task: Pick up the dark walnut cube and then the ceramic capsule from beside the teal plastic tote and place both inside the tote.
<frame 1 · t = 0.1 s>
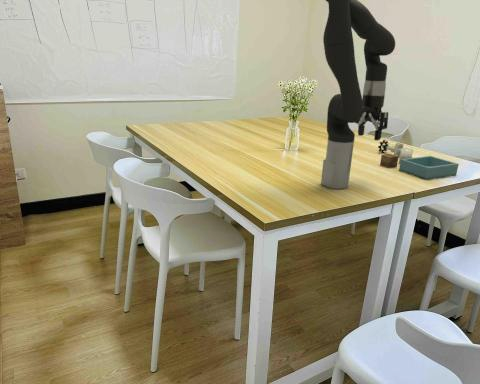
hand: (368, 137, 145), 17 cm above the table, tool pointing down, fingers open, 8 cm apart
valve: (390, 155, 193), on the table
tote: (427, 172, 164), on the table
ceramic capsule: (404, 164, 177), on the table
walnut cube: (388, 166, 173), on the table
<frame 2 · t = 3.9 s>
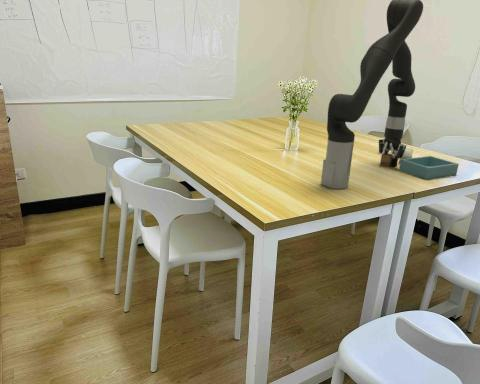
hand: (388, 164, 173), 1 cm above the table, tool pointing down, fingers closed on walnut cube, 5 cm apart
walnut cube: (388, 166, 173), on the table, touching gripper
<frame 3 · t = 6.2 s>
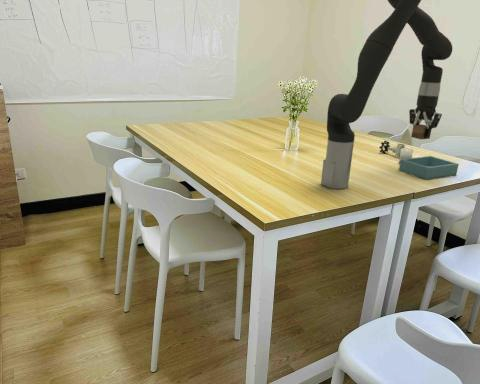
hand: (420, 136, 160), 16 cm above the table, tool pointing down, fingers closed on walnut cube, 5 cm apart
walnut cube: (420, 137, 160), point 15 cm above the table, touching gripper
when the fingers open (4 cm above the table, at t = 8.7 s): walnut cube drops 2 cm, resting on tote.
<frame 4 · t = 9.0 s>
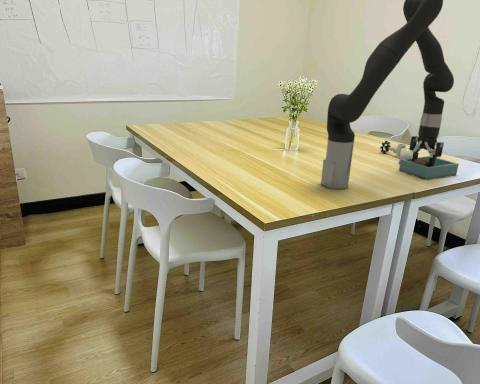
hand: (422, 163, 161), 4 cm above the table, tool pointing down, fingers open, 7 cm apart
walnut cube: (421, 172, 162), point 1 cm above the table, touching tote
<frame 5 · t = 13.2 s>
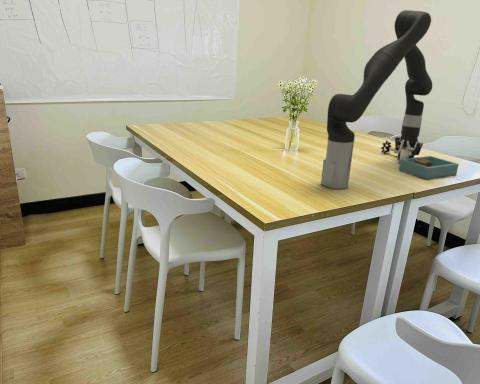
hand: (404, 161, 177), 1 cm above the table, tool pointing down, fingers closed on ceramic capsule, 5 cm apart
ceramic capsule: (404, 164, 177), on the table, touching gripper
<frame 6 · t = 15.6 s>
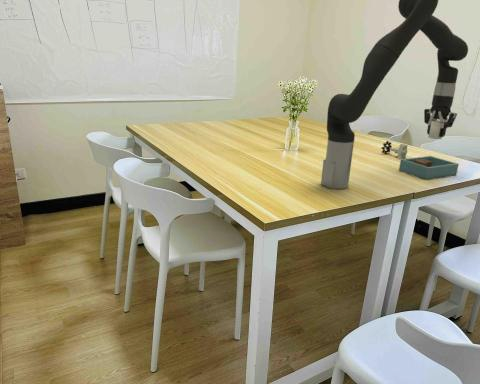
hand: (435, 135, 163), 15 cm above the table, tool pointing down, fingers closed on ceramic capsule, 5 cm apart
ceramic capsule: (434, 137, 163), point 14 cm above the table, touching gripper
when the fingers open (4 cm above the table, at t = 18.3 s): ceramic capsule drops 2 cm, resting on tote.
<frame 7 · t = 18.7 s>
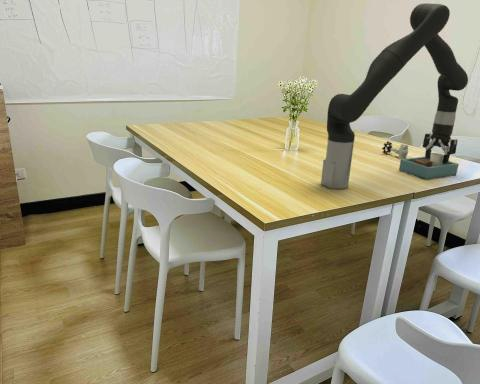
hand: (436, 160, 164), 5 cm above the table, tool pointing down, fingers open, 8 cm apart
ceramic capsule: (434, 170, 166), point 1 cm above the table, touching tote
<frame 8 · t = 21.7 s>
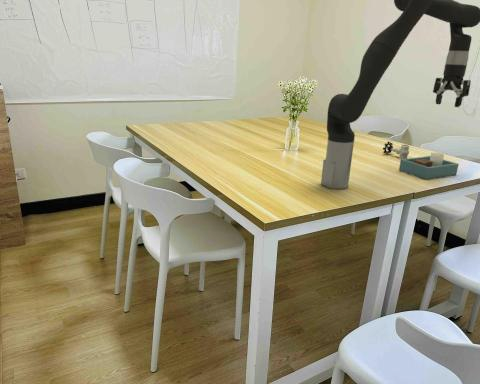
hand: (447, 105, 157), 28 cm above the table, tool pointing down, fingers open, 8 cm apart
at the end: walnut cube inside the target area on the tote (4.0 cm from its centre), point 0.8 cm above the tote's base; ceramic capsule inside the target area on the tote (4.0 cm from its centre), point 0.9 cm above the tote's base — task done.
